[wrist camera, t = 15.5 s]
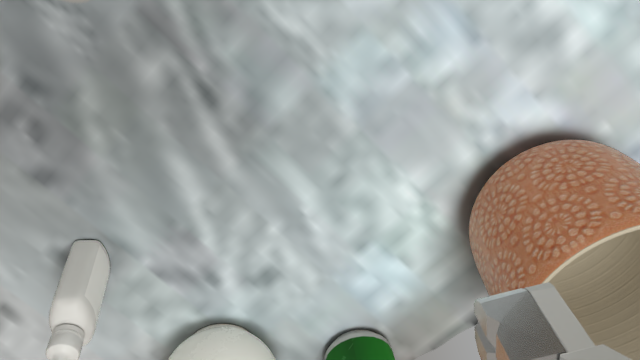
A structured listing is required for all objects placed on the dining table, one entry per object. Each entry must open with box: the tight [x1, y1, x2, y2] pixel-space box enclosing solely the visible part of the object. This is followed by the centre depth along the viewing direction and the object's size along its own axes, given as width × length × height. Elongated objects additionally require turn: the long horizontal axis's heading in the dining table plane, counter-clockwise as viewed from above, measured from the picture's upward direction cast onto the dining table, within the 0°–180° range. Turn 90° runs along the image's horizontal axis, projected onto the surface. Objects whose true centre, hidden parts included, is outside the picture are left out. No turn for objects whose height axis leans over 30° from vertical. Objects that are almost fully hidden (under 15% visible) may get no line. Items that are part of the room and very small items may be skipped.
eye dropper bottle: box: [46, 240, 110, 360], centre depth 47 cm, size 4×6×12 cm
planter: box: [469, 140, 640, 360], centre depth 48 cm, size 17×17×15 cm
